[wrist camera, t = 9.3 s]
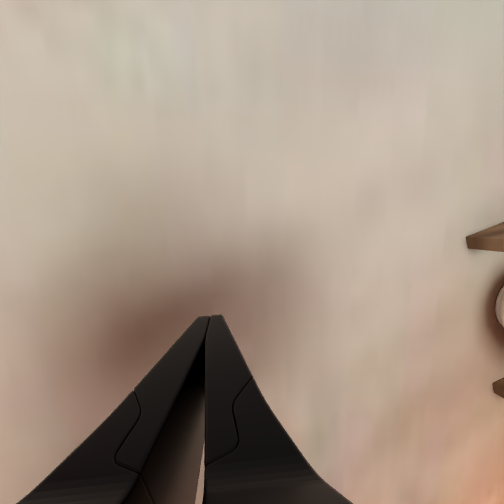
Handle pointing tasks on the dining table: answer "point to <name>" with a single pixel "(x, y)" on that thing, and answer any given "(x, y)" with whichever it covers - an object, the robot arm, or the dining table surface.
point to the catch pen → (493, 240)
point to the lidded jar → (500, 306)
